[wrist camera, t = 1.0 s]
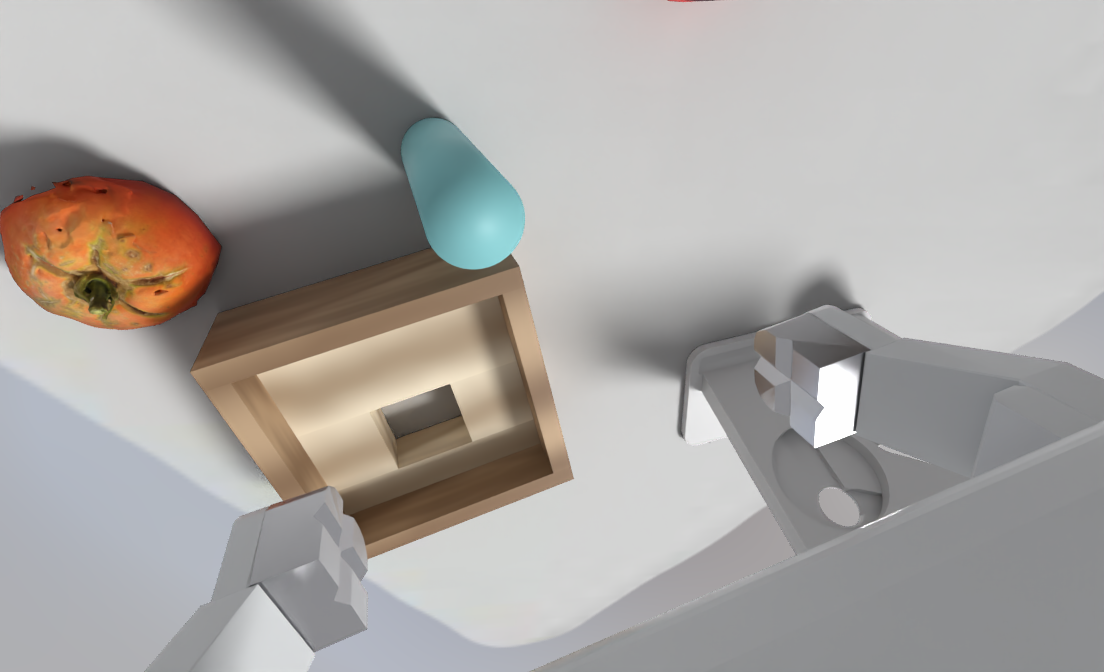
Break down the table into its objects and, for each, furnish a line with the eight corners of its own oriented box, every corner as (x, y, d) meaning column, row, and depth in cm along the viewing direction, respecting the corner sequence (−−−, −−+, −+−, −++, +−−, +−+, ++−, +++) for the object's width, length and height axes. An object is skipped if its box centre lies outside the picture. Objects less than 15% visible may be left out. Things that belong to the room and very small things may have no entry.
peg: (390, 127, 28) (409, 187, 18) (457, 109, 28) (512, 157, 18) (414, 194, 30) (442, 281, 20) (476, 176, 30) (534, 252, 20)
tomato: (-30, 302, 25) (-48, 270, 19) (36, 174, 27) (35, 113, 22) (172, 353, 30) (200, 338, 24) (214, 241, 32) (248, 205, 27)
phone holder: (872, 303, 45) (1123, 442, 30) (845, 398, 51) (1048, 555, 36) (687, 347, 41) (871, 530, 27) (679, 445, 47) (829, 643, 32)
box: (218, 313, 30) (189, 372, 25) (494, 228, 32) (519, 266, 27) (337, 500, 38) (334, 571, 33) (547, 423, 41) (573, 478, 36)
